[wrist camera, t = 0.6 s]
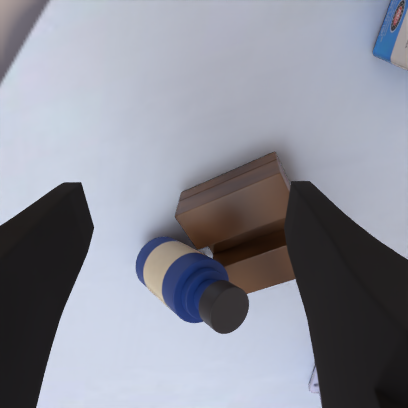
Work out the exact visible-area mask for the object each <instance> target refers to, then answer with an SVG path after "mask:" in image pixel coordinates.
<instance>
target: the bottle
mask: <svg viewBox="0 0 408 408" xmlns="http://www.w3.org/2000/svg"><path fill="white" fill-rule="evenodd" d="M136 273H137V276H138V278H139V280H140V281H141V282H142V283H143V284H144V285H145V286H146V287H147V288H148V289H149V290H150V291H151V292H152V293H153V294H154V295H155V296H156V297H157V298H158V299H160V300H161V301H162V302H163V303H164V304H165V305H166V306H167V307H168V308H169V309H171V310H172V311H173V312H174V313H176V314H177V315H178V316H179V317H180V318H181V319H182V320H184V321H186V322H190V323H199V322H203V321H204V322H205V323H206V324H207V325H209V326H210V327H211V328H212V329H214V330H215V331H216V332H218V333H221V334H227V333H230V332H232V331H234V330H236V329H237V328H238V327H239V326H240V325H241V324H242V323H243V321H244V320H245V318H246V316H247V313H248V309H249V300H248V296H247V294H246V293H245V291H244V290H243V289H241V288H239V287H238V286H236V285H234V284H232V283H231V282H229V278H228V274H227V271H226V270H225V268H224V267H223V265H221V264H220V263H219V262H217V261H216V260H214V259H212V258H210V257H208V256H206V255H205V254H203V253H201V252H199V251H197V250H195V249H193V248H191V247H189V246H188V245H186V244H184V243H181V242H179V241H177V240H175V239H173V238H170V237H158V238H155V239H153V240H151V241H149V242H148V243H147V244H146V245H145V246H144V247H143V248H142V249H141V251H140V252H139V254H138V257H137V260H136Z"/></svg>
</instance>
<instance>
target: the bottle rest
mask: <svg viewBox="0 0 408 408" xmlns="http://www.w3.org/2000/svg"><path fill="white" fill-rule="evenodd" d="M290 186H291V185H290V182H289V180H288V178H287V176H286V174H285V171H284V169H283V167H282V165H281V163H280V160H279V158H278V156H277V154H276V152H273V153H271V154H268V155H266V156H264V157H262V158H259V159H257V160H255V161H252V162H250V163H248V164H246V165H243V166H241V167H239V168H236V169H234V170H232V171H230V172H227V173H225V174H223V175H220V176H218V177H216V178H214V179H211V180H209V181H207V182H205V183H202V184H200V185H198V186H195V187H193V188H191V189H189V190H186V191H184V192H182V193H181V195H180V198H179V202H178V206H177V210H176V213H175V218H176V219H177V221H178V222H179V224H180V225H181V227H182V228H183V230H184V231H185V233H186V234H187V235H188V237H189V238H190V240H191V241H192V243H193V244H194V246H195V247H196V249H197V250H199V249H202V248H204V247H207V246H208V247H209V248H210V250H211V251H212V253H213V259H214V260H216V261H217V262H219V263H220V264H221V265H223V267H224V268H225V270H226V271H227V274H228V278H229V282H231V283H232V284H234V285H236V286H238V287H239V288H241V289H243V290H244V291H245V293H246V294H248V293H251V292H255V291H258V290H261V289H264V288H267V287H271V286H274V285H277V284H280V283H284V282H287V281H290V280H293V279H296V278H295V275H294V272H293V268H292V265H291V262H290V258H289V255H288V250H287V244H286V238H285V231H284V224H285V218H286V211H287V205H288V199H289V193H290Z"/></svg>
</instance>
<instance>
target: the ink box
mask: <svg viewBox="0 0 408 408" xmlns="http://www.w3.org/2000/svg"><path fill="white" fill-rule="evenodd" d="M373 55H374V56H376V57H378V58H380V59H383V60H385V61H387V62H389V63H392V64H394V65H396V66H398V67H400V68H403V69H405V70H407V71H408V0H391V2H390V5H389V8H388V11H387V14H386V17H385V19H384V22H383V25H382V27H381V30H380V33H379V36H378V39H377V41H376V44H375V47H374V50H373Z"/></svg>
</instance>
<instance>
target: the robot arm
mask: <svg viewBox="0 0 408 408" xmlns="http://www.w3.org/2000/svg"><path fill="white" fill-rule="evenodd" d="M93 230H94V225H93V222H92V218H91V215H90V211H89V208H88V204H87V201H86V197H85V194H84V190H83V187H82V183H81V182H66V183H62V184H61V185H59V186H57V187H56V188H54V189H53V190H51V191H50V192H48V193H47V194H46V195H44V196H43V197H41V198H40V199H39V200H37V201H36V202H34V203H33V204H32V205H30V206H29V207H27V208H26V209H25V210H23V211H22V212H20V213H19V214H17V215H16V216H15V217H13V218H11V219H10V220H8V221H7V222H5V223H4V224H2V225H1V226H0V408H36V406H37V402H38V398H39V394H40V389H41V385H42V381H43V377H44V373H45V369H46V366H47V362H48V358H49V355H50V351H51V347H52V344H53V341H54V337H55V334H56V331H57V327H58V324H59V321H60V318H61V315H62V312H63V310H64V307H65V305H66V302H67V300H68V298H69V295H70V293H71V291H72V288H73V286H74V284H75V281H76V279H77V277H78V274H79V272H80V270H81V267H82V265H83V262H84V260H85V258H86V255H87V253H88V249H89V246H90V242H91V238H92V234H93ZM284 231H285V238H286V244H287V250H288V255H289V258H290V262H291V265H292V268H293V272H294V275H295V278H296V282H297V285H298V288H299V292H300V295H301V298H302V302H303V305H304V308H305V312H306V316H307V320H308V326H309V331H310V336H311V342H312V347H313V353H314V359H315V365H316V367H315V370H314V373H313V375H312V378H311V381H310V384H309V391H310V392H312V393H319V395H320V400H321V404H322V408H408V259H406V258H404V257H403V256H401V255H400V254H398V253H397V252H395V251H394V250H392V249H391V248H389V247H387V246H386V245H384V244H383V243H381V242H380V241H379V240H377V239H376V238H374V237H373V236H372V235H370V234H369V233H368V232H367V231H365V230H364V229H363V228H362V227H360V226H359V225H358V224H356V223H355V222H354V221H353V220H352V219H350V218H349V217H348V216H347V215H346V214H345V213H343V212H342V211H341V210H340V209H339V208H338V207H337V206H336V205H335V204H333V203H332V202H331V201H330V200H329V199H328V198H327V197H326V196H325V195H324V194H323V193H322V192H321V191H320V190H319V189H318V188H317V187H315V186H314V185H313V184H312V183H311V182H310V181H291V186H290V193H289V199H288V205H287V211H286V218H285V224H284Z"/></svg>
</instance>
